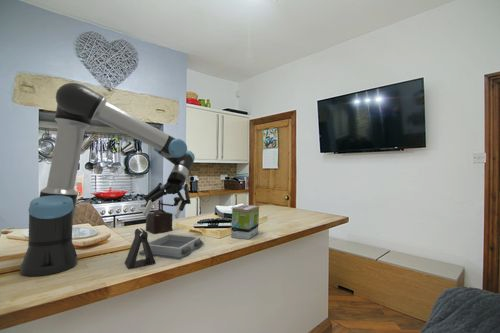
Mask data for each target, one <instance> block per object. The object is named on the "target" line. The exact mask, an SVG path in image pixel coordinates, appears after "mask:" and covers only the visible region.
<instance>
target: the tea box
mask: <svg viewBox="0 0 500 333" xmlns="http://www.w3.org/2000/svg"><path fill="white" fill-rule="evenodd" d="M231 210H232V211H231V212H232V214H231V231H230V237H231V238H234V239H241V240H250V239H251V238H252V237H254V236H255V235H257V234H258V233H259V219H260V218H259V217H260V206H259V205H249V204H240V205H238V206H235V207H232V208H231Z"/></svg>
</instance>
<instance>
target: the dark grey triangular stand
mask: <svg viewBox="0 0 500 333" xmlns="http://www.w3.org/2000/svg"><path fill="white" fill-rule="evenodd" d="M147 232H148V231H146V230H145V229H143V228H141V227H140V228H136V229H135V230H134V238H133V241H132V243H131V246H130V249H129V251H128V254H127V256H126V259H125V262H124V264H125V265H126V267H127V269H128V270H132V269H133V270H134V269H138V268H141V267H147V266H152V265H156V263H157V261H156V260H155V256H153V254H152V251H151V248H150V246H149V240H148V233H147ZM141 245H142V248H143V250H144V253H145V255H144V257H145V258H143V259H142V258H141V259H138V260H137V258H138V255H139V252H140V248H141Z"/></svg>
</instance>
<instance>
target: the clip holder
mask: <svg viewBox="0 0 500 333" xmlns="http://www.w3.org/2000/svg"><path fill="white" fill-rule="evenodd" d="M148 243H149V246H150V248H151V251H152V254H153V256H154V257H155V258H156V257H157V258H165V259H173V260H182V259H184V258H185V257H187V256H188V255H190V254H191V253H193V252H194V251H196V250H197V249H199V248H201V247H202V246H203V245H204V241H202V240H201V237H200V236H192V235H191V236H189V235H180V234H173V233H172V234H171V233H170V234H166V235H162V236H161V237H159V238H157V239H154V240H151V241H148ZM138 255H141V256H142V255H143V256H145V253H144V249H143V250H139V252H138Z"/></svg>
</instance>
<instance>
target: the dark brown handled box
mask: <svg viewBox="0 0 500 333" xmlns="http://www.w3.org/2000/svg"><path fill="white" fill-rule="evenodd" d="M161 201H162V200H161V199H158V208H157V209H156V210H155V211H153V212H149V213H148V215H147V217H145V232H148V233H151V234H154V235H157V234H162V233H163V234H164V233H166V232H172V231H173V216H174V214H173V213H172V212H168V211H167V212H166V211H165V210H164V209H161V206H170V207H177V206H178V204H179V201H181V199H180V198H179V196H175V197H174V198H173V201H174V202H173V204H171V203H170V204H169V203H163V202H161ZM181 202H182V201H181Z"/></svg>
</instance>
